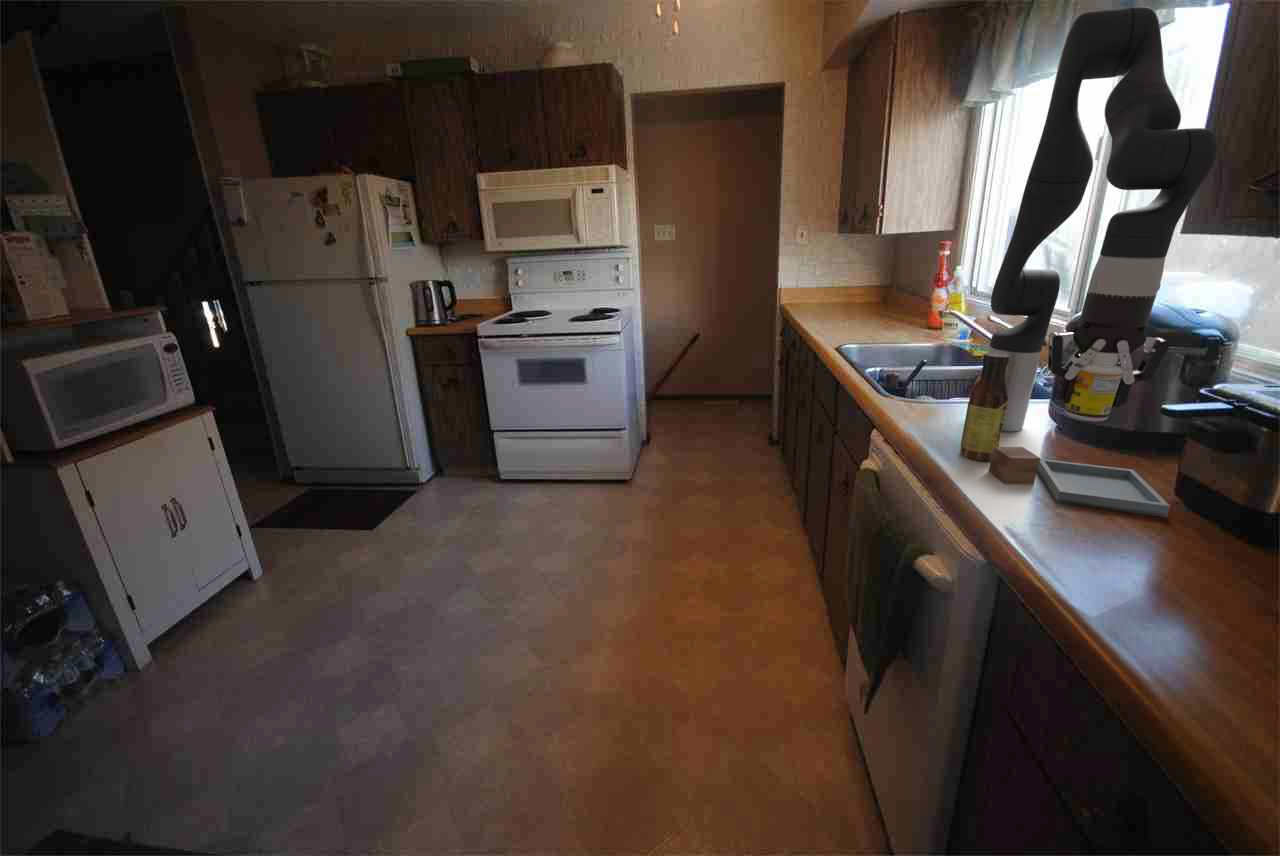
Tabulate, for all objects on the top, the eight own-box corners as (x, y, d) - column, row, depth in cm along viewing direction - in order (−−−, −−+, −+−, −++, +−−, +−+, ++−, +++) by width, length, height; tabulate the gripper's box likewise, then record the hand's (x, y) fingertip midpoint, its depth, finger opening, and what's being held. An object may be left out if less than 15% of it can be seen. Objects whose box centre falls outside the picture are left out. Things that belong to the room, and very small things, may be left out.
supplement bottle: (1058, 408, 88) (1075, 344, 85) (1100, 412, 86) (1121, 347, 83) (1067, 420, 84) (1086, 353, 80) (1113, 424, 82) (1135, 356, 78)
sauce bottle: (1001, 463, 104) (1025, 359, 97) (964, 461, 105) (986, 358, 98) (987, 450, 110) (1010, 351, 103) (953, 448, 111) (973, 350, 104)
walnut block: (988, 472, 101) (993, 446, 99) (1016, 472, 101) (1022, 446, 99) (1004, 484, 96) (1010, 458, 95) (1033, 484, 96) (1040, 458, 94)
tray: (1035, 468, 102) (1037, 458, 101) (1129, 480, 97) (1133, 469, 96) (1056, 502, 90) (1060, 491, 89) (1166, 517, 85) (1170, 506, 84)
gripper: (1175, 288, 79) (1138, 401, 85) (1053, 284, 84) (1027, 391, 90) (1200, 295, 72) (1158, 417, 78) (1067, 291, 77) (1037, 406, 84)
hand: (1088, 403), depth 84 cm, fingers closed on supplement bottle, 5 cm apart
